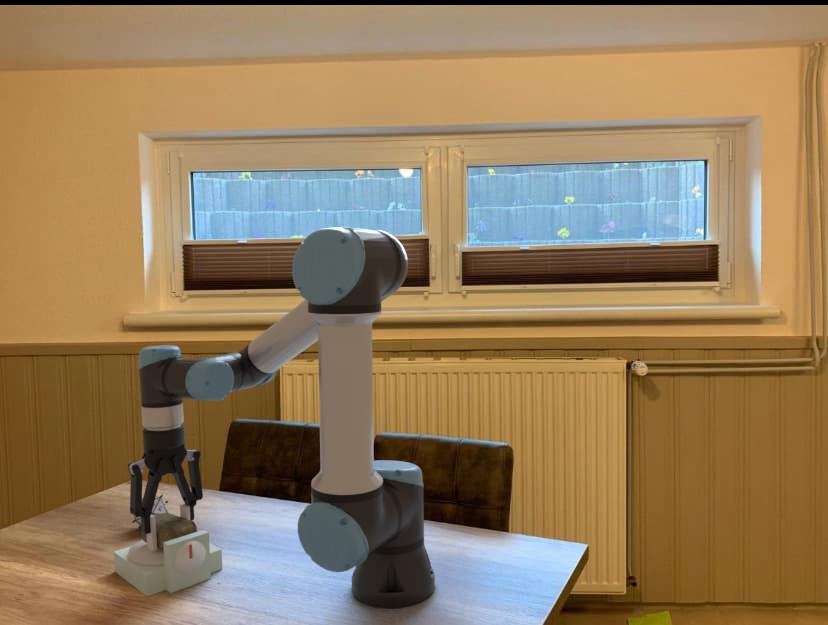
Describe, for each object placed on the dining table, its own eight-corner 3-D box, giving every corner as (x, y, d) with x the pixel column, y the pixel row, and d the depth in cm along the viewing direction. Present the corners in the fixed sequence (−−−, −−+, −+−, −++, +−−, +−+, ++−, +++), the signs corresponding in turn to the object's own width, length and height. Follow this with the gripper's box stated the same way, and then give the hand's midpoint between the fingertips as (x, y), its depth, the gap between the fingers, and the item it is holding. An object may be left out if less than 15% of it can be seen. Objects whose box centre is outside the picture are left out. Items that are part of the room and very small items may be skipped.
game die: (161, 542, 156) (185, 508, 155) (130, 542, 149) (155, 506, 148) (146, 515, 161) (169, 482, 160) (115, 514, 154) (139, 479, 153)
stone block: (174, 556, 126) (173, 530, 126) (139, 543, 133) (137, 518, 132) (200, 545, 131) (199, 520, 130) (165, 533, 138) (163, 509, 137)
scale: (229, 573, 131) (227, 527, 130) (153, 601, 120) (150, 552, 120) (186, 547, 143) (184, 506, 143) (114, 571, 133) (112, 526, 132)
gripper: (200, 414, 140) (205, 524, 141) (104, 432, 126) (111, 553, 128) (218, 419, 134) (224, 533, 136) (120, 439, 121) (127, 564, 122)
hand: (169, 542), depth 132 cm, fingers closed on stone block, 6 cm apart
